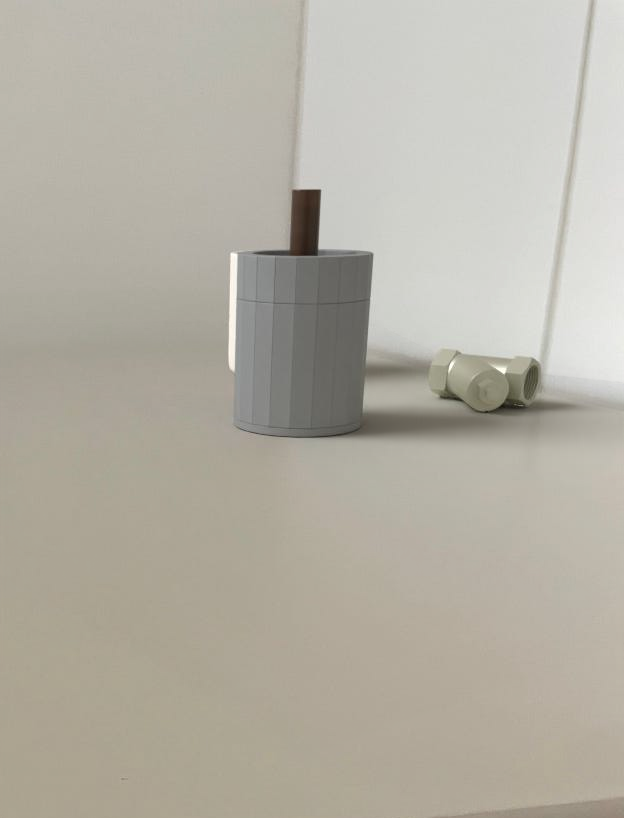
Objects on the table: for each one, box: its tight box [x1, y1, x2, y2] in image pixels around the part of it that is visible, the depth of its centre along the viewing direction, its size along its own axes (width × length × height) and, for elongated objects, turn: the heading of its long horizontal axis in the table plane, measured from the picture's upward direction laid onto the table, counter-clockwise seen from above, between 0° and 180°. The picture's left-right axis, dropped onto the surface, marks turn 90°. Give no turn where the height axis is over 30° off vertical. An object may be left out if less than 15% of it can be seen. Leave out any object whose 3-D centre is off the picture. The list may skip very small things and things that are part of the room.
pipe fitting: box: [428, 348, 542, 413], centre depth 85 cm, size 8×4×7 cm
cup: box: [233, 248, 375, 438], centre depth 78 cm, size 9×9×12 cm
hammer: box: [289, 188, 322, 256], centre depth 77 cm, size 4×4×16 cm
